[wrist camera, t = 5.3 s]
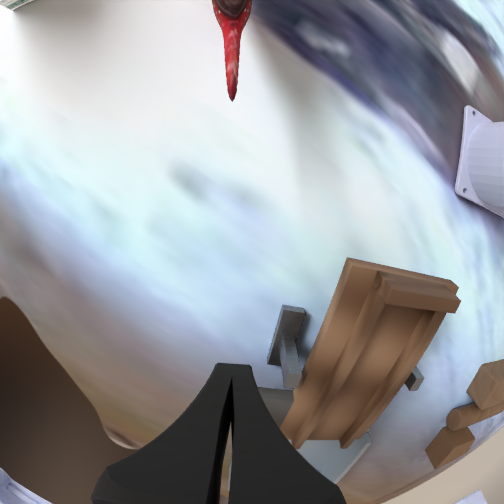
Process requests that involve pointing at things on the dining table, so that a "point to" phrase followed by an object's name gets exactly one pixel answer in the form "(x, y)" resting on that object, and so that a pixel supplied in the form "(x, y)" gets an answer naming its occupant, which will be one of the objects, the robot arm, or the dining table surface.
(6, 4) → the syrup box
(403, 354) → the wooden rack
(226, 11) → the red pointed-tail figurine
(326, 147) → the dining table surface
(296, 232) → the dining table surface
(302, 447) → the tray
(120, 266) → the dining table surface
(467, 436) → the wooden block set
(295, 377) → the lever stand
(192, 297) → the dining table surface
